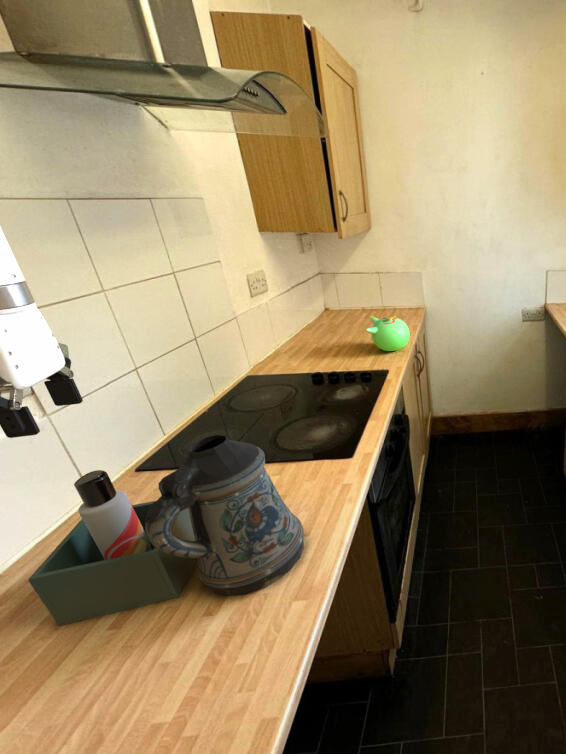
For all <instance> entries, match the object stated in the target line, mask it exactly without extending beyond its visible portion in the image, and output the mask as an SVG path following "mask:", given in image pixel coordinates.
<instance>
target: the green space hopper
mask: <svg viewBox="0 0 566 754" xmlns="http://www.w3.org/2000/svg"><path fill="white" fill-rule="evenodd" d="M369 319H370V321H371V322H372V323H373V326H372V327H368V328H366V329H365V332H366V333H368V334H371V339H372V341H373V343H374V345H375V346H376V347H377V348H378V349H380V350H382V351H384V352H385V351H386V352H395V351H399V350H401V349H403V348H404V347H406V346H407V344H408V343H409V341H410V339H411V338H410V336H411V333H410V329H409V326H408V324H407V323H406V322H405V321H404V320H403V319H401V318H399V317H397V316H396V315H394V316H390V317H389V316H388V317H387V316H386V317H382V318H381V319H380V318H377V317H375V316H373V315H369Z"/></svg>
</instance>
